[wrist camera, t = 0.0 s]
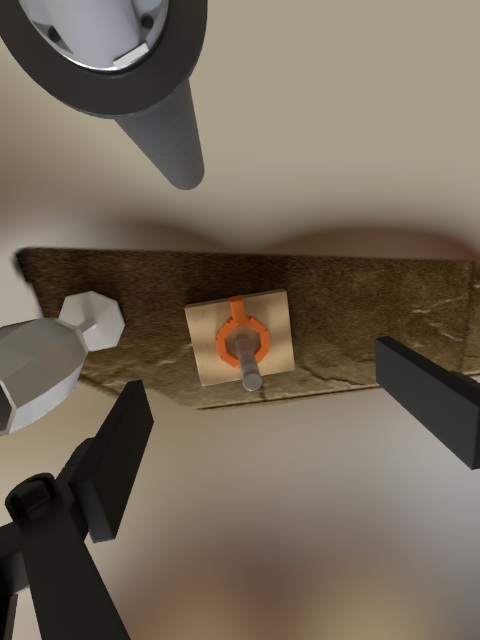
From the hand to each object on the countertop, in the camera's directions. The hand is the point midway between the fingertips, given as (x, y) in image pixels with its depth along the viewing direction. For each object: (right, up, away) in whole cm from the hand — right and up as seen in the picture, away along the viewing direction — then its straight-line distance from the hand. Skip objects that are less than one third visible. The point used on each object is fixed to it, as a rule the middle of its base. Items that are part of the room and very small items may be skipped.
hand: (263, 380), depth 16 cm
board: (-1, +1, +27) cm, 27 cm away
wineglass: (-22, +3, +24) cm, 33 cm away
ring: (-1, +2, +24) cm, 24 cm away
